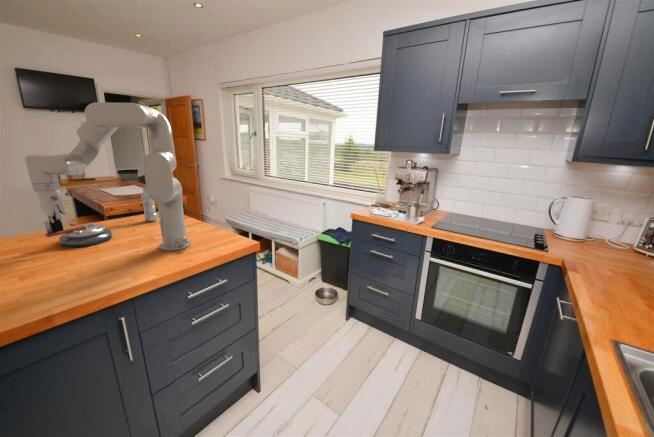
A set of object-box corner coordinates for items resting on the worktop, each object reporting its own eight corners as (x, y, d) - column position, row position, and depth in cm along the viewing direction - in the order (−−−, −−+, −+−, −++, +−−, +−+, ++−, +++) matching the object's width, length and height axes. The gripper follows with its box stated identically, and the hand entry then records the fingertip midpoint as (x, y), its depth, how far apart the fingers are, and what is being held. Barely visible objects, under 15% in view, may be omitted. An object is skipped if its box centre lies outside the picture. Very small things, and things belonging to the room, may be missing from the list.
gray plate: (119, 238, 129) (118, 232, 129) (71, 251, 114) (70, 244, 113) (100, 231, 138) (99, 225, 137) (53, 242, 122) (51, 236, 121)
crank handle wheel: (111, 232, 128) (107, 214, 125) (55, 245, 111) (49, 225, 108) (96, 227, 134) (93, 210, 132) (41, 239, 117) (36, 219, 115)
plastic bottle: (153, 222, 154) (148, 188, 148) (142, 222, 154) (136, 187, 148) (160, 219, 160) (156, 186, 154) (149, 219, 160) (144, 185, 154)
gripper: (67, 187, 105) (77, 232, 111) (51, 183, 112) (62, 225, 118) (40, 190, 99) (52, 237, 104) (26, 185, 106) (38, 230, 111)
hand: (57, 231), depth 111 cm, fingers closed
